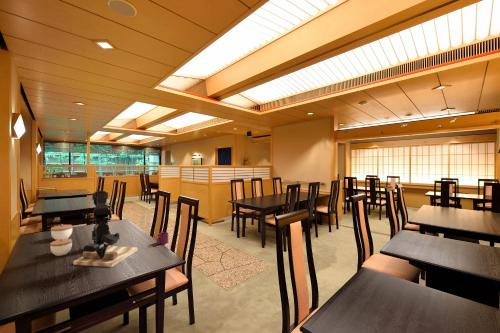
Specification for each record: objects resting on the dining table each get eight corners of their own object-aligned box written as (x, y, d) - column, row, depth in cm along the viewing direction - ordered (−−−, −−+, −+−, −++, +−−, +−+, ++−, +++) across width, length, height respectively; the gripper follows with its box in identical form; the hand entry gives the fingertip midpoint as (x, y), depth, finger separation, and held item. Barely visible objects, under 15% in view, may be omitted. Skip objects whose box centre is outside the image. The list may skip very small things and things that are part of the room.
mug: (170, 242, 166) (170, 232, 166) (160, 246, 156) (160, 236, 156) (162, 240, 168) (162, 231, 168) (152, 245, 159) (152, 235, 159)
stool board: (73, 264, 128) (73, 260, 128) (104, 248, 152) (104, 245, 152) (111, 266, 125) (111, 262, 125) (137, 250, 149) (137, 247, 149)
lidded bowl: (75, 238, 172) (75, 223, 172) (54, 243, 161) (54, 227, 161) (68, 235, 179) (68, 221, 179) (48, 239, 168) (48, 224, 168)
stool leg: (81, 257, 131) (81, 252, 131) (86, 255, 134) (86, 250, 134) (113, 259, 129) (113, 254, 129) (117, 257, 132) (117, 252, 132)
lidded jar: (73, 253, 143) (73, 238, 143) (51, 258, 135) (51, 243, 135) (70, 249, 150) (70, 235, 150) (49, 253, 142) (49, 238, 142)
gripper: (102, 236, 115) (102, 266, 115) (126, 226, 134) (126, 252, 134) (82, 235, 116) (82, 265, 117) (108, 225, 135) (108, 251, 135)
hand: (101, 258), depth 126 cm, fingers closed
